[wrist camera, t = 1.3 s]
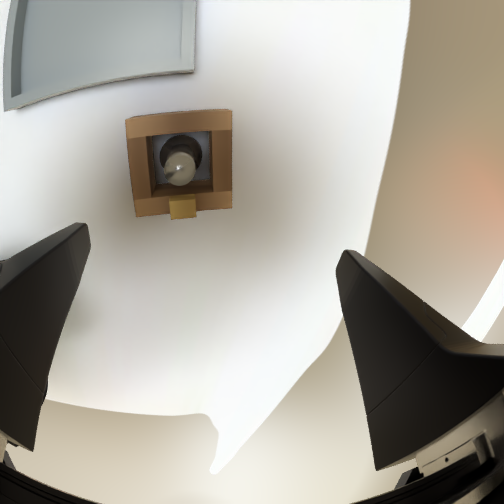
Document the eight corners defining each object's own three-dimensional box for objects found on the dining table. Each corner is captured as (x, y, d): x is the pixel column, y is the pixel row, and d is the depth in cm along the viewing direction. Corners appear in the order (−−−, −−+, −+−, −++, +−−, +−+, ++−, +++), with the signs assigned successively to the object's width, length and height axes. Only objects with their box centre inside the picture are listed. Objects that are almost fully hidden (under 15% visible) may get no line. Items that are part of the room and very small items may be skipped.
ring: (142, 201, 20) (134, 223, 17) (134, 116, 17) (121, 121, 13) (226, 193, 21) (234, 214, 18) (225, 108, 18) (234, 111, 15)
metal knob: (161, 177, 19) (156, 197, 16) (159, 136, 18) (151, 147, 14) (202, 173, 20) (207, 193, 16) (201, 133, 18) (205, 142, 15)
